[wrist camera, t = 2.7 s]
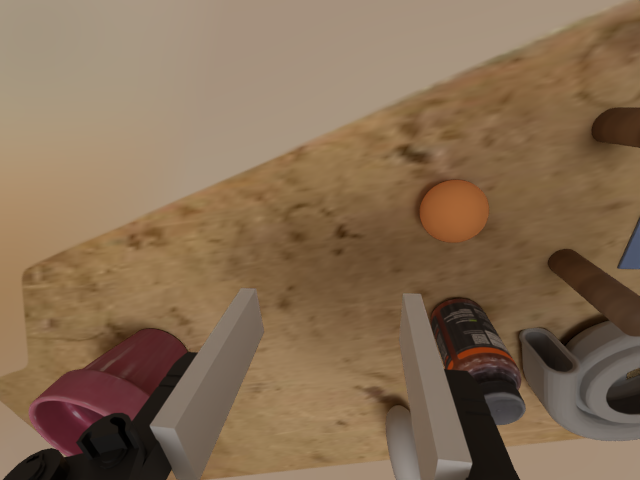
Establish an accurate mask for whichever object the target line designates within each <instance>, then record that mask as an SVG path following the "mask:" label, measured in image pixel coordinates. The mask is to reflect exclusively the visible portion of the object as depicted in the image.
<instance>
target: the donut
mask: <svg viewBox="0 0 640 480" xmlns="http://www.w3.org/2000/svg"><path fill="white" fill-rule="evenodd" d="M386 437H387V445H388V450H389V456H390V460H391V464H392V468H393V472H394V475H395V478H396V480H421V476H420V470H419V463H418V457H417V451H416V444H415V438H414V431H413V425H412V418H411V413H410V412H409V410H407V409H406V408H405V407H403V406H400V405H396V406H393V407H392V408H391V409H390V410H389V412H388V413H387V416H386Z"/></svg>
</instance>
